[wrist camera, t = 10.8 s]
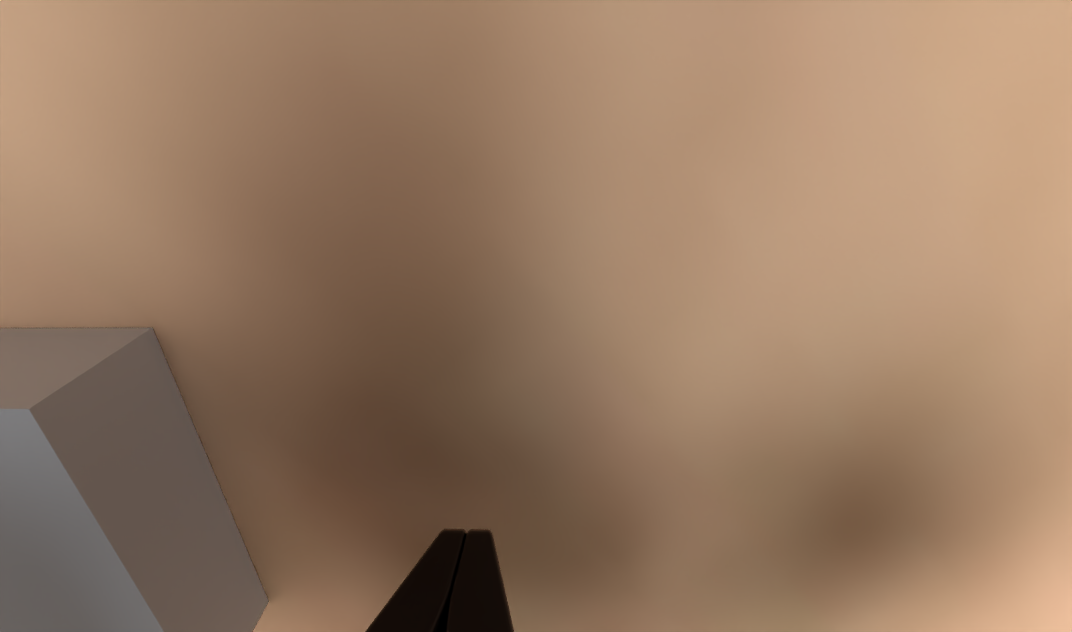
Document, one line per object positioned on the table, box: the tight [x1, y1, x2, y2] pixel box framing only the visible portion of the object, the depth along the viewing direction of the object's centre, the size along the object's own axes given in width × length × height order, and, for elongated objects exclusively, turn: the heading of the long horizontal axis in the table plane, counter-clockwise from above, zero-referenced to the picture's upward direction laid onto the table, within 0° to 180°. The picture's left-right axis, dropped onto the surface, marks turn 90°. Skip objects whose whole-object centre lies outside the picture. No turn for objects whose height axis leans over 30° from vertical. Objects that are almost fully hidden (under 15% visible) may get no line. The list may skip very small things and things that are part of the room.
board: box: [0, 328, 269, 632], centre depth 9 cm, size 7×7×2 cm
